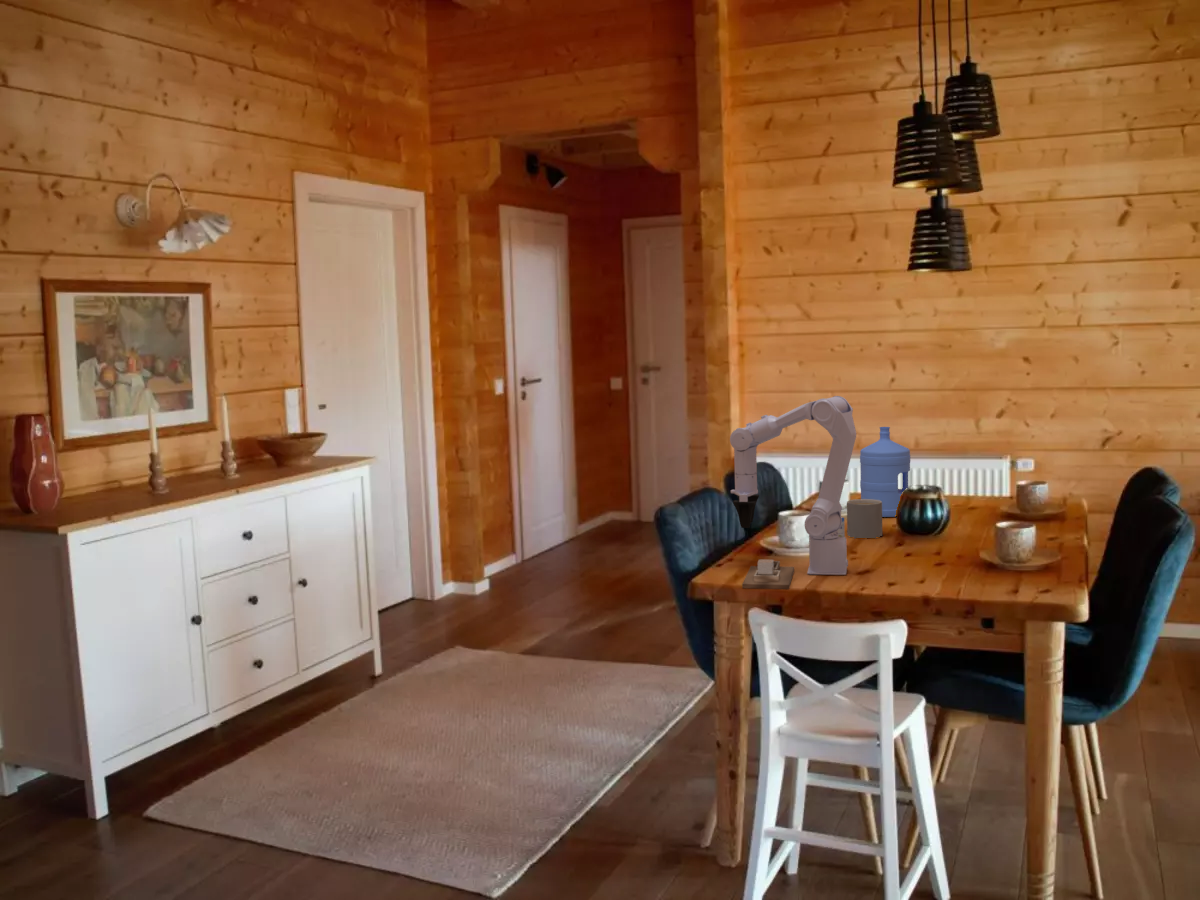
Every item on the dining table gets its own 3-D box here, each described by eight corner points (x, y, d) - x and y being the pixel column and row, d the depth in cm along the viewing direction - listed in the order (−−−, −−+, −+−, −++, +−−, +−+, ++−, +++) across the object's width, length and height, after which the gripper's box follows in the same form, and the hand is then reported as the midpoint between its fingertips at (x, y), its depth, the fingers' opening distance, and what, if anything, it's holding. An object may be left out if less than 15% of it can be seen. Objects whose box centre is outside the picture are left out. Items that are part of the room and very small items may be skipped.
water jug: (865, 519, 358) (864, 430, 355) (856, 510, 373) (855, 425, 370) (916, 517, 357) (915, 428, 354) (904, 509, 373) (903, 424, 370)
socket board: (794, 570, 290) (794, 560, 289) (788, 589, 270) (788, 578, 270) (750, 569, 292) (750, 560, 292) (742, 588, 273) (742, 577, 273)
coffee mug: (879, 539, 325) (878, 505, 324) (844, 538, 329) (843, 504, 328) (887, 531, 337) (886, 497, 336) (853, 529, 341) (852, 496, 340)
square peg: (773, 577, 278) (773, 559, 278) (772, 580, 275) (772, 562, 274) (759, 577, 279) (758, 559, 278) (758, 580, 276) (757, 562, 275)
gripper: (733, 469, 304) (734, 519, 306) (727, 477, 290) (728, 529, 292) (760, 469, 303) (761, 520, 304) (754, 477, 289) (756, 530, 290)
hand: (746, 524), depth 298 cm, fingers open, 7 cm apart
